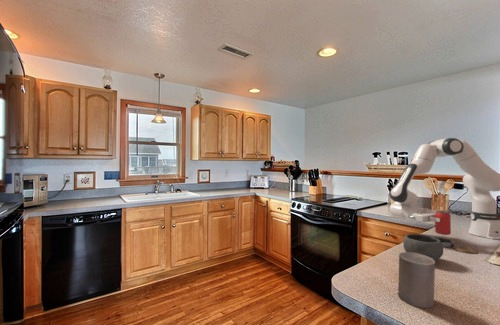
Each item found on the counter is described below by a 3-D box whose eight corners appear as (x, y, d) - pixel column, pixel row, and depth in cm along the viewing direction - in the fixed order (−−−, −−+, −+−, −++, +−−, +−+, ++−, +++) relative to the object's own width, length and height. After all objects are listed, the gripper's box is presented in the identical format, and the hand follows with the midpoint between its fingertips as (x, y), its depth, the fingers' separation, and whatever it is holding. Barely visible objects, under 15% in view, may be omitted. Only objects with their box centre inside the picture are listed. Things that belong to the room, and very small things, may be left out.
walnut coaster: (470, 248, 126) (470, 246, 126) (481, 254, 118) (481, 252, 118) (449, 246, 129) (449, 244, 129) (459, 252, 120) (459, 250, 120)
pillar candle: (391, 291, 83) (392, 248, 82) (418, 291, 83) (419, 247, 83) (412, 309, 73) (413, 260, 73) (442, 308, 73) (443, 259, 73)
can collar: (447, 242, 135) (447, 238, 135) (457, 248, 125) (457, 243, 125) (427, 241, 137) (427, 236, 137) (435, 246, 128) (435, 242, 128)
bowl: (432, 269, 101) (432, 245, 101) (396, 256, 114) (396, 235, 114) (449, 262, 107) (450, 240, 107) (414, 251, 121) (414, 231, 121)
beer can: (447, 232, 133) (447, 210, 133) (453, 235, 127) (452, 213, 127) (433, 231, 135) (433, 210, 136) (438, 234, 129) (437, 212, 129)
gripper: (406, 210, 139) (433, 215, 126) (427, 207, 147) (454, 211, 135) (406, 221, 139) (433, 227, 126) (427, 217, 147) (454, 223, 135)
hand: (444, 219), depth 131 cm, fingers closed on beer can, 6 cm apart
